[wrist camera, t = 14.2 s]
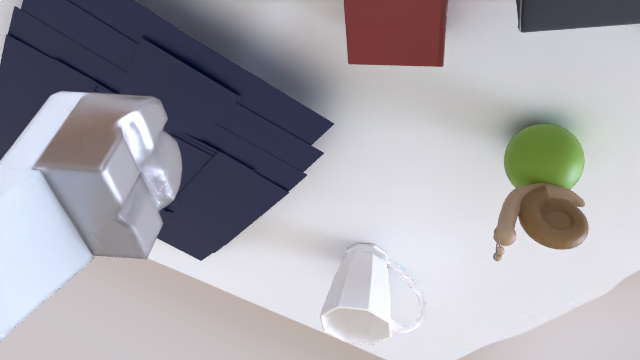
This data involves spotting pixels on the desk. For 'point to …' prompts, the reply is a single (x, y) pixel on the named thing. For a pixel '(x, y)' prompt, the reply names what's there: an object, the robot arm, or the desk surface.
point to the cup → (365, 298)
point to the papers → (166, 108)
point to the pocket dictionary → (396, 32)
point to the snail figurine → (543, 189)
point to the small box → (575, 14)
